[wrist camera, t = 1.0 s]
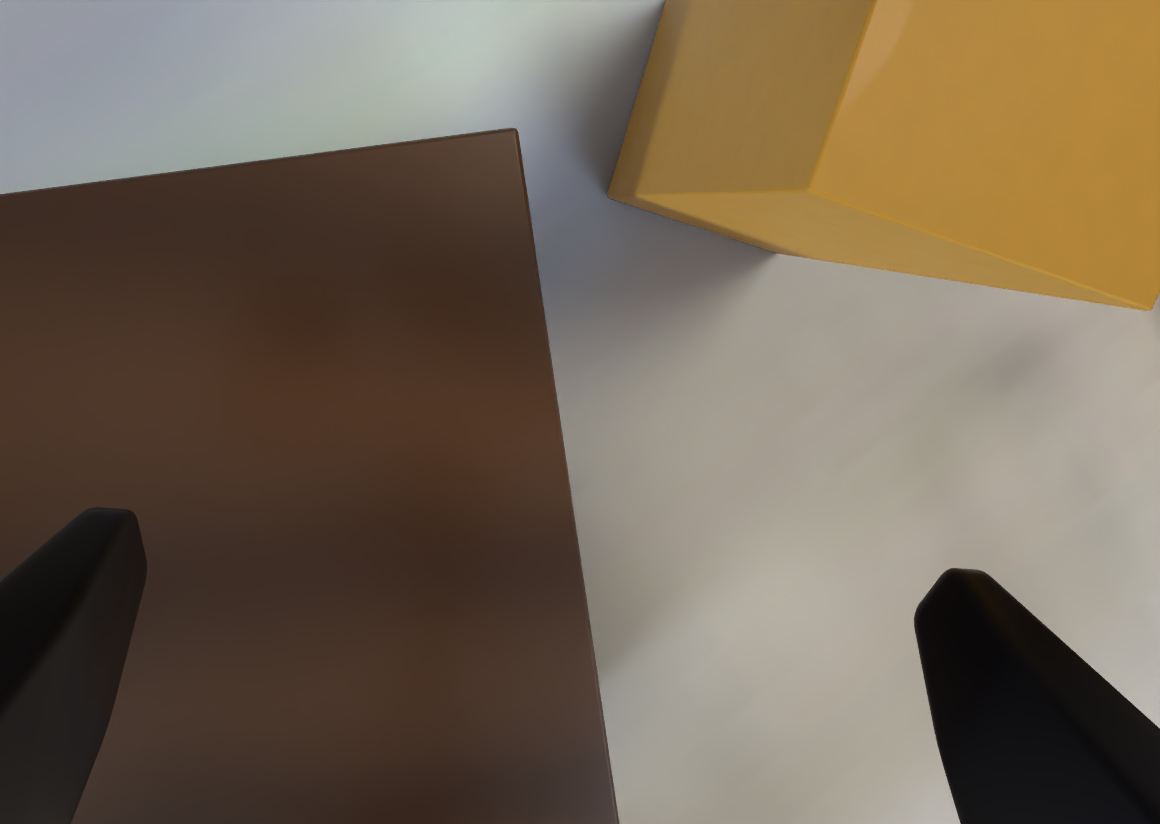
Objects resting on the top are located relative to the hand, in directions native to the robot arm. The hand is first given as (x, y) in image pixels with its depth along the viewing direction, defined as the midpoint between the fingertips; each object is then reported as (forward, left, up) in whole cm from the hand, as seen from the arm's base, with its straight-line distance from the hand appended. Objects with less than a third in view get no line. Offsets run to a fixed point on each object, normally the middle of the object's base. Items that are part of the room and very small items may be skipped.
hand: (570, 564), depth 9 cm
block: (+5, -7, -13) cm, 16 cm away
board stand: (-4, +6, -13) cm, 15 cm away
